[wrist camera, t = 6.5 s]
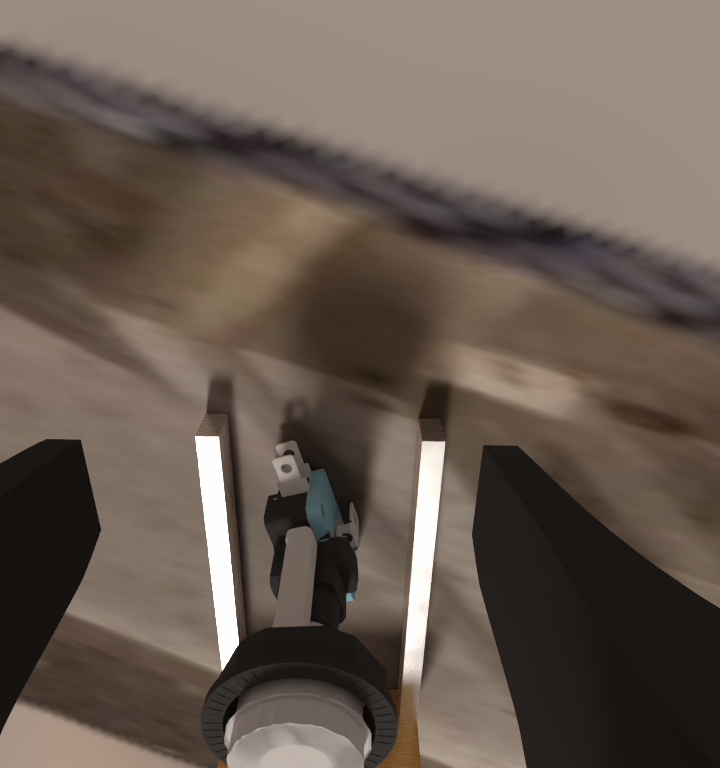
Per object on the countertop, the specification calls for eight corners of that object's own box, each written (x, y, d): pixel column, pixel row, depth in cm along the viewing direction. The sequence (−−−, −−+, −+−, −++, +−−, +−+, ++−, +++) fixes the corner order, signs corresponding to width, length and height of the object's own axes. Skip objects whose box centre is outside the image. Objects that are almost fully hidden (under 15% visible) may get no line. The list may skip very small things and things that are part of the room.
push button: (222, 449, 23) (134, 684, 14) (357, 417, 23) (354, 643, 14) (278, 576, 26) (234, 837, 17) (399, 551, 26) (419, 809, 17)
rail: (440, 418, 23) (459, 503, 18) (412, 708, 30) (421, 819, 26) (206, 413, 22) (167, 497, 18) (236, 705, 30) (214, 816, 25)
